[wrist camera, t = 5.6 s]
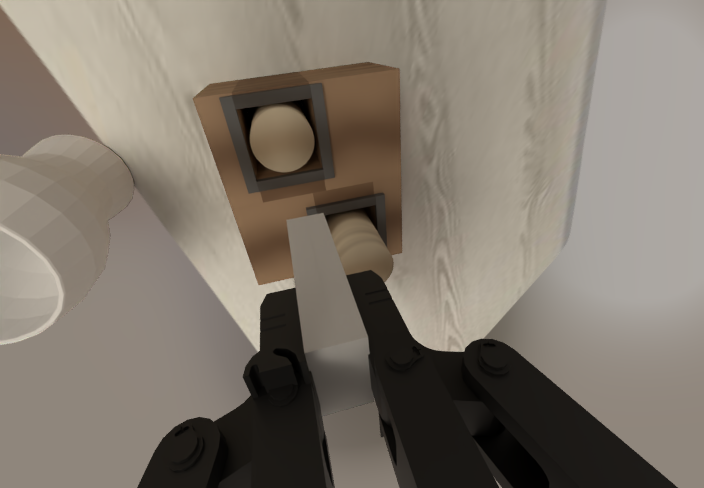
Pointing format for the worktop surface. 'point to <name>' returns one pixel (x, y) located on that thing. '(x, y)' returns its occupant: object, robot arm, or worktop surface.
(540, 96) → the worktop surface
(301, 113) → the dowel
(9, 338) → the cup
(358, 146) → the walnut block
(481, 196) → the worktop surface
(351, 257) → the dowel
